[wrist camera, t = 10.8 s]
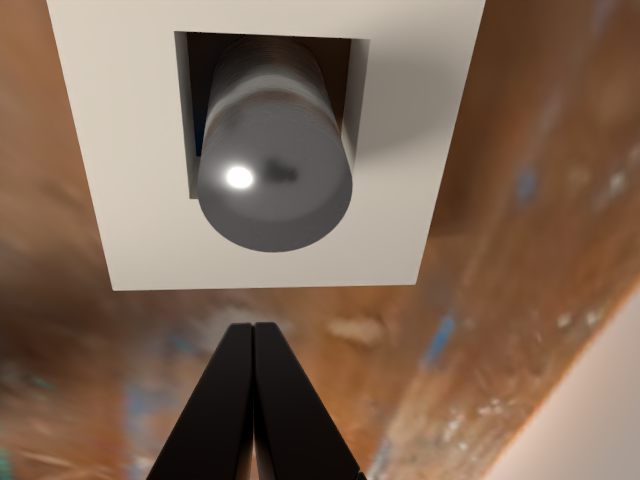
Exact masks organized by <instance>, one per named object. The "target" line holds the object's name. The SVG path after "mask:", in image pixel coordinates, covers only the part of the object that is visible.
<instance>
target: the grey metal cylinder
mask: <svg viewBox="0 0 640 480" xmlns="http://www.w3.org/2000/svg"><path fill="white" fill-rule="evenodd" d="M352 190H353V182H352V174H351V170H350V167H349V163H348V160H347V157H346V153H345V150H344V147H343V143H342V140H341V137H340V133H339V130H338V127H337V123H336V120H335V117H334V113H333V110H332V107H331V103H330V100H329V97H328V93H327V90H326V87H325V83H324V80H323V77H322V73H321V70H320V67H319V65H318V62H317V61H316V59H315V57H314V56H313V54H312V53H311V52H310V51H309V49H307V48H306V47H305V46H304V45H303V44H302V43H301V42H299V41H298V40H296V39H294V38H293V37H291V36H284V35H260V34H247V35H245V36H243V37H241V38H239V39H237V40H236V41H234V42H233V43H231V44H230V45H229V46H228V47H227V48H226V49H225V50H224V51H223V53H222V54H221V56H220V57H219V59H218V61H217V63H216V65H215V68H214V71H213V77H212V84H211V91H210V98H209V104H208V111H207V118H206V125H205V132H204V139H203V146H202V153H201V160H200V167H199V174H198V180H197V195H198V201H199V204H200V207H201V210H202V212H203V214H204V216H205V218H206V219H207V221H208V222H209V223H210V225H211V226H212V227H213V228H214V229H215V230H216V231H217V232H218V233H219V234H220V235H222V236H223V237H224V238H226V239H227V240H229V241H230V242H232V243H234V244H236V245H238V246H241V247H244V248H247V249H250V250H254V251H260V252H271V253H277V252H287V251H293V250H297V249H301V248H304V247H306V246H309V245H311V244H313V243H315V242H317V241H319V240H320V239H322V238H323V237H325V236H326V235H327V234H329V233H330V232H331V231H332V230H333V229H334V228H335V227H336V226H337V225H338V224H339V223H340V221H341V220H342V218H343V217H344V215H345V213H346V211H347V209H348V207H349V204H350V201H351V197H352Z"/></svg>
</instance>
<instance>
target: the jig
mask: <svg viewBox="0 0 640 480" xmlns="http://www.w3.org/2000/svg"><path fill="white" fill-rule="evenodd" d="M485 1H486V0H47V4H48V9H49V13H50V17H51V22H52V26H53V30H54V35H55V39H56V44H57V48H58V52H59V57H60V61H61V65H62V70H63V74H64V79H65V83H66V87H67V92H68V96H69V100H70V105H71V109H72V114H73V118H74V122H75V127H76V131H77V135H78V140H79V144H80V149H81V153H82V157H83V162H84V166H85V170H86V175H87V179H88V184H89V188H90V192H91V197H92V201H93V205H94V210H95V214H96V218H97V223H98V227H99V232H100V236H101V240H102V245H103V249H104V253H105V258H106V262H107V267H108V271H109V275H110V280H111V284H112V288H113V291H121V290H172V289H222V288H273V287H323V286H374V285H415V284H416V280H417V276H418V272H419V268H420V264H421V260H422V256H423V252H424V248H425V244H426V240H427V236H428V232H429V228H430V224H431V220H432V216H433V211H434V207H435V203H436V199H437V195H438V191H439V187H440V183H441V179H442V175H443V171H444V167H445V163H446V159H447V155H448V151H449V147H450V143H451V139H452V135H453V131H454V126H455V122H456V118H457V114H458V110H459V106H460V102H461V98H462V94H463V90H464V86H465V82H466V78H467V74H468V70H469V66H470V62H471V58H472V54H473V50H474V46H475V41H476V37H477V33H478V29H479V25H480V21H481V17H482V13H483V9H484V5H485ZM186 31H188V32H212V33H236V34H260V35H284V36H308V37H332V38H352V39H351V48H350V58H349V67H348V76H347V86H346V95H345V105H344V114H343V124H342V133H341V140H342V143H343V147H344V150H345V153H346V157H347V160H348V163H349V167H350V170H351V174H352V182H353V190H352V197H351V201H350V204H349V207H348V209H347V211H346V213H345V215H344V217H343V218H342V220H341V221H340V223H339V224H338V225H337V226H336V227H335V228H334V229H333V230H332V231H331V232H330V233H329V234H327V235H326V236H325V237H323V238H322V239H320V240H319V241H317V242H315V243H313V244H311V245H309V246H306V247H304V248H301V249H297V250H293V251H287V252H277V253H271V252H260V251H254V250H250V249H247V248H244V247H241V246H238V245H236V244H234V243H232V242H230V241H229V240H227V239H226V238H224V237H223V236H222V235H220V234H219V233H218V232H217V231H216V230H215V229H214V228H213V227H212V226H211V225H210V223H209V222H208V221H207V219H206V218H205V216H204V214H203V212H202V210H201V207H200V204H199V201H198V195H197V180H198V174H199V167H200V160H201V157H196V145H195V132H194V120H193V107H192V95H191V82H190V70H189V57H188V45H187V32H186Z"/></svg>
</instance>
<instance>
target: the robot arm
mask: <svg viewBox="0 0 640 480" xmlns="http://www.w3.org/2000/svg"><path fill="white" fill-rule="evenodd" d="M253 384H254V387H253ZM253 436H254V441H255V451H256V459H257V467H258V474H259V480H367V479H366V477H365V475H364V473H363V472H360V467H359V465H358V463H357V462H356V460H355V458H354V457H353V455H352V453H351V451H350V450H349V448H348V446H347V444H346V443H345V441H344V439H343V438H342V436H341V434H340V432H339V431H338V429H337V427H336V425H335V424H334V422H333V420H332V419H331V417H330V415H329V413H328V412H327V410H326V408H325V406H324V405H323V403H322V401H321V399H320V398H319V396H318V394H317V393H316V391H315V389H314V387H313V386H312V384H311V382H310V380H309V379H308V377H307V375H306V374H305V372H304V370H303V368H302V367H301V365H300V363H299V361H298V360H297V358H296V356H295V354H294V353H293V351H292V349H291V348H290V346H289V344H288V342H287V341H286V339H285V337H284V335H283V334H282V332H281V330H280V329H279V327H278V325H277V324H276V323H274V322H257V323H255V324H254V325H252V324H251V323H232V324H230V325H229V326H228V328H227V330H226V331H225V333H224V335H223V337H222V339H221V341H220V343H219V345H218V346H217V348H216V350H215V352H214V354H213V356H212V358H211V359H210V361H209V363H208V365H207V367H206V369H205V371H204V372H203V374H202V376H201V378H200V380H199V382H198V384H197V385H196V387H195V389H194V391H193V393H192V395H191V397H190V398H189V400H188V402H187V404H186V406H185V408H184V410H183V411H182V413H181V415H180V417H179V419H178V421H177V423H176V424H175V426H174V428H173V430H172V432H171V434H170V436H169V437H168V439H167V441H166V443H165V445H164V447H163V449H162V450H161V452H160V454H159V456H158V458H157V460H156V462H155V463H154V465H153V467H152V469H151V471H150V473H149V475H148V477H147V478H146V480H249V479H250V470H251V462H252V452H253Z"/></svg>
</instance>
